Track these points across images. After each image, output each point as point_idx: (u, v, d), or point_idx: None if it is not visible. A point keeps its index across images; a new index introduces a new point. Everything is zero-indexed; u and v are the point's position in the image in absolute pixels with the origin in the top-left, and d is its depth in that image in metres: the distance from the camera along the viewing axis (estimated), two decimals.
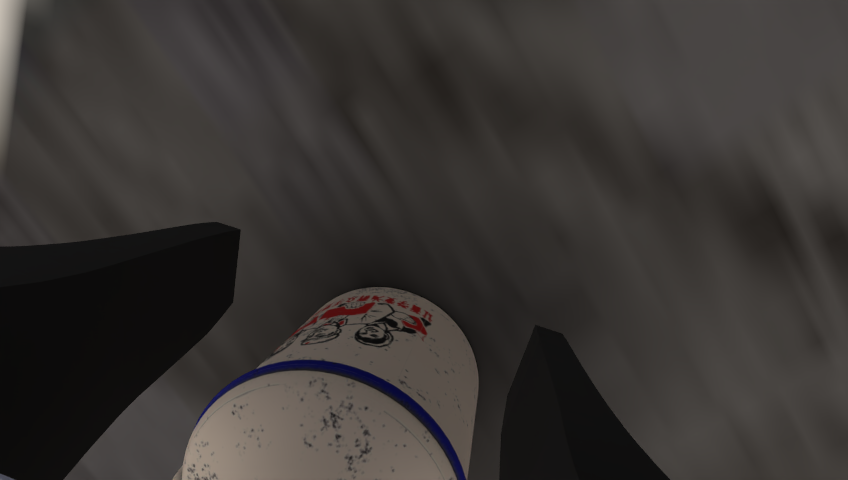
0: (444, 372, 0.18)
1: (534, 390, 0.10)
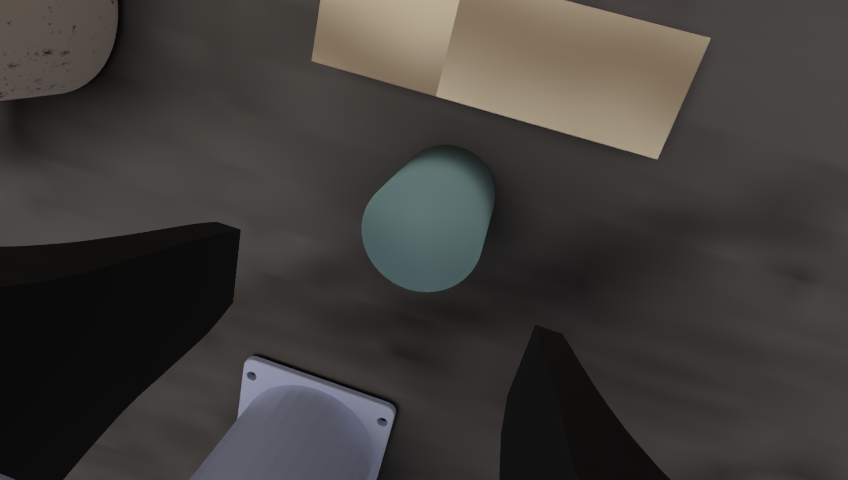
0: None
1: (534, 390, 0.10)
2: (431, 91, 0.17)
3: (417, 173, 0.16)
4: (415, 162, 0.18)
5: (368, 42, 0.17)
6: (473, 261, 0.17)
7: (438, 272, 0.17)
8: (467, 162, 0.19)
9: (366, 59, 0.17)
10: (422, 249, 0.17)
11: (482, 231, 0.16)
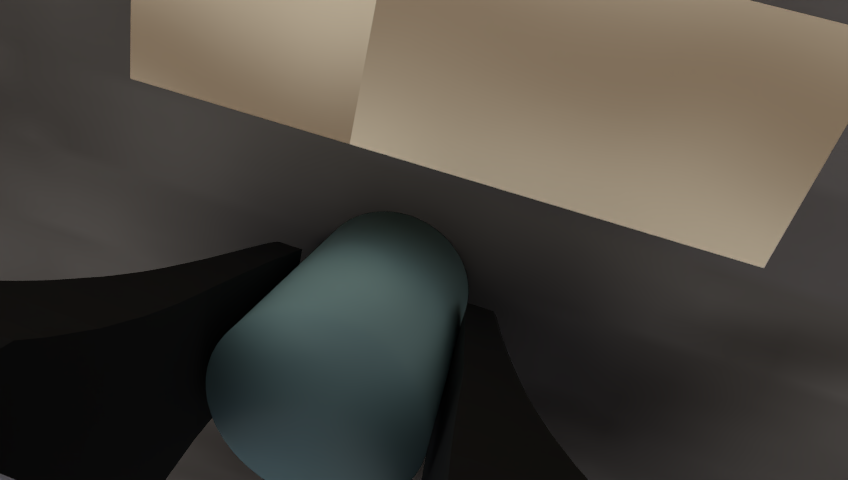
0: None
1: (455, 363, 0.10)
2: (341, 135, 0.09)
3: (302, 300, 0.08)
4: (319, 258, 0.10)
5: (223, 46, 0.09)
6: (413, 464, 0.09)
7: (350, 475, 0.09)
8: (415, 251, 0.11)
9: (222, 75, 0.10)
10: (318, 438, 0.09)
11: (427, 415, 0.08)
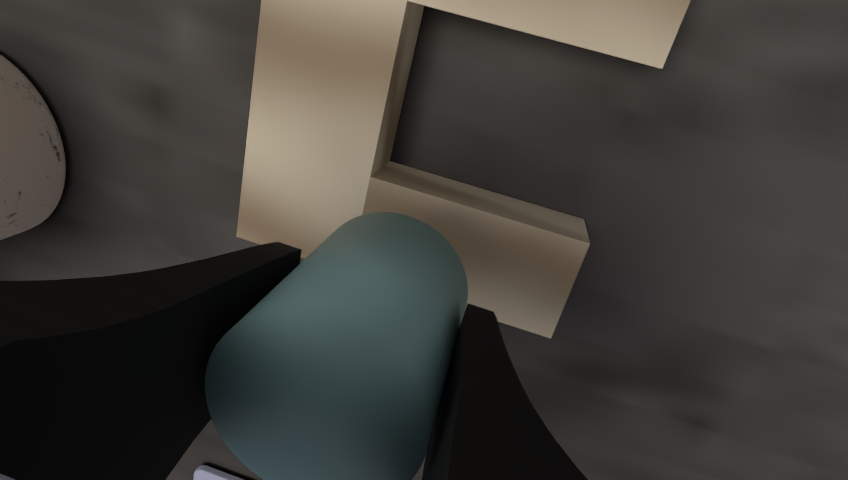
0: None
1: (455, 363, 0.10)
2: None
3: (301, 300, 0.08)
4: (318, 258, 0.10)
5: (286, 225, 0.19)
6: (412, 464, 0.09)
7: (349, 476, 0.09)
8: (414, 251, 0.11)
9: (285, 238, 0.19)
10: (317, 438, 0.09)
11: (427, 416, 0.08)
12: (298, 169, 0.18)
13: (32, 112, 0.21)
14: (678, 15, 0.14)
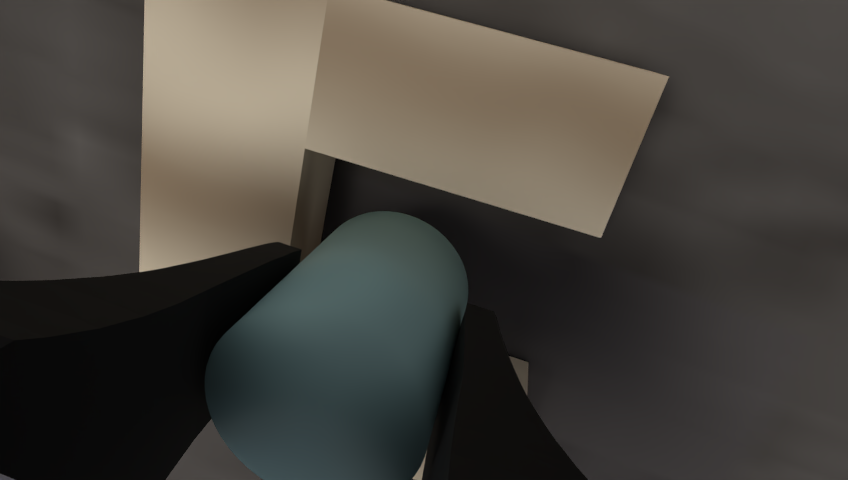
0: None
1: (455, 363, 0.10)
2: None
3: (301, 299, 0.08)
4: (318, 257, 0.10)
5: None
6: (412, 464, 0.09)
7: (349, 476, 0.09)
8: (415, 250, 0.11)
9: None
10: (318, 437, 0.09)
11: (427, 415, 0.08)
12: None
13: None
14: (617, 182, 0.12)
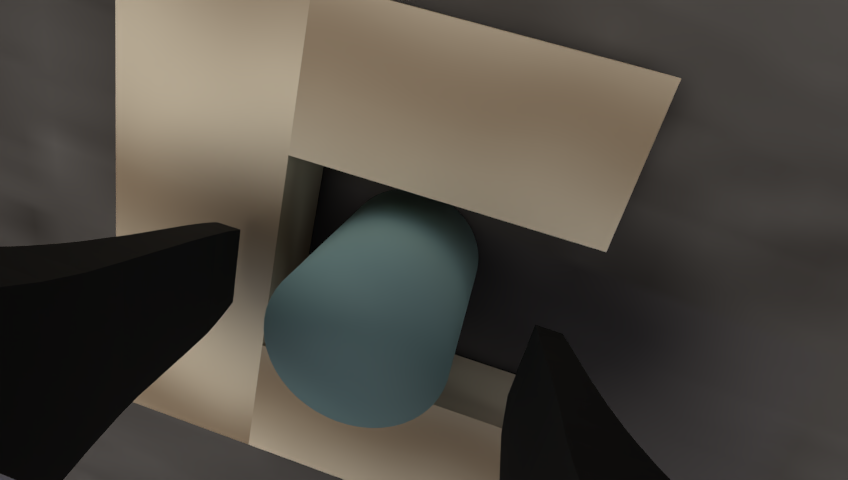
0: None
1: (534, 390, 0.10)
2: (243, 440, 0.16)
3: (346, 252, 0.10)
4: (354, 223, 0.12)
5: (171, 389, 0.16)
6: (436, 388, 0.11)
7: (383, 401, 0.11)
8: (434, 220, 0.13)
9: (171, 402, 0.16)
10: (357, 368, 0.11)
11: (449, 345, 0.10)
12: None
13: None
14: (624, 193, 0.11)
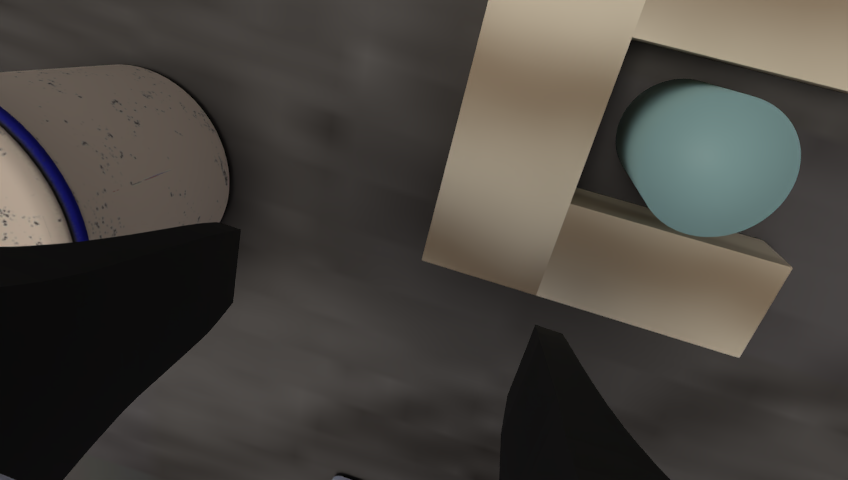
0: (39, 73, 0.18)
1: (534, 390, 0.10)
2: (532, 291, 0.19)
3: (721, 92, 0.14)
4: (682, 89, 0.16)
5: (476, 249, 0.19)
6: (780, 197, 0.14)
7: (731, 211, 0.14)
8: None
9: (473, 262, 0.19)
10: (716, 185, 0.14)
11: (799, 160, 0.14)
12: (496, 196, 0.18)
13: (208, 140, 0.21)
14: None
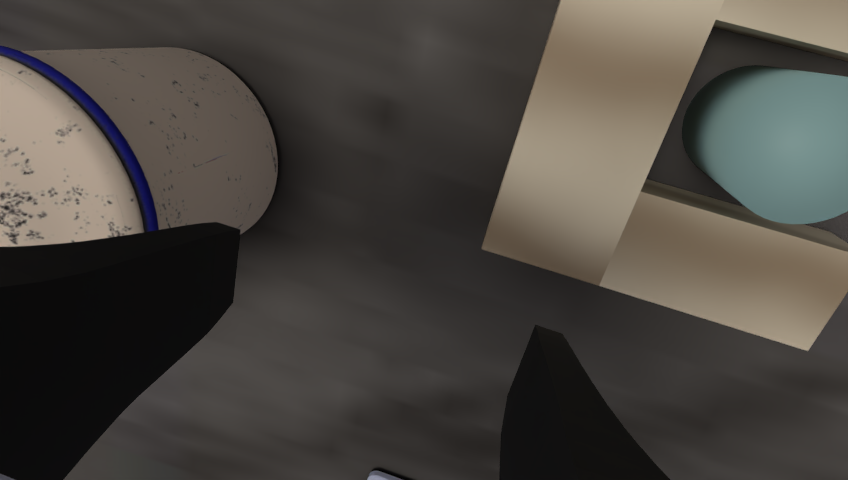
0: (99, 51, 0.17)
1: (534, 390, 0.10)
2: (595, 281, 0.19)
3: (818, 74, 0.13)
4: (766, 74, 0.15)
5: (539, 238, 0.19)
6: None
7: (822, 198, 0.14)
8: None
9: (535, 251, 0.19)
10: (807, 171, 0.14)
11: None
12: (563, 183, 0.18)
13: (260, 125, 0.21)
14: None
